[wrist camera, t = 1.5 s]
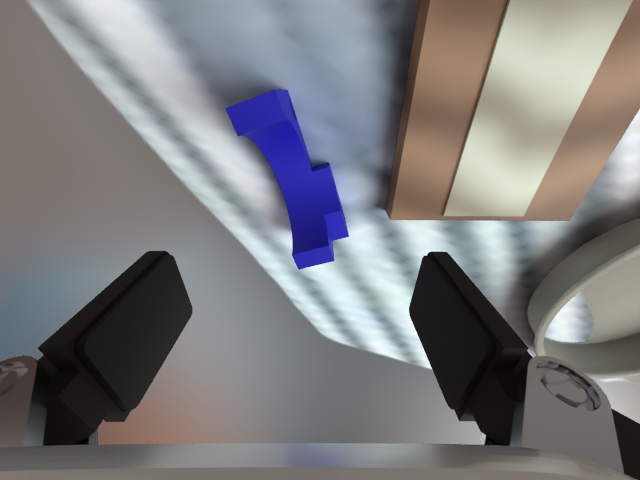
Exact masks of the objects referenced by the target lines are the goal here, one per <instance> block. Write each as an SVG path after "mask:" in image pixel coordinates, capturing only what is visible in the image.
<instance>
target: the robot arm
mask: <svg viewBox="0 0 640 480" xmlns="http://www.w3.org/2000/svg"><path fill="white" fill-rule="evenodd" d="M409 313H410V317H411V320H412V322H413V324H414V327H415V329H416V331H417V334H418V336H419V338H420V341H421V343H422V346H423V348H424V350H425V353H426V355H427V357H428V360H429V362H430V364H431V367H432V369H433V372H434V374H435V376H436V378H437V381H438V383H439V386H440V388H441V390H442V393H443V395H444V398H445V400H446V402H447V404H448V406H449V407H450V408H451V409H454V410H455V412H456V414H457V417H458V419H459V421H476V422H477V425H478V427H479V429H480V431H481V432H482V433H481V437H480V442H479V445H461V444H327V443H323V444H320V443H317V444H109V445H108V444H107V445H106V444H104V445H99V444H98V426H99V425H100V423H101V422H102V420H103V419H104V420H105V421H106V422H124V421H125V420H126V418H127V416H128V415H129V413H130V411H131V410H133V409H134V408H136V407H137V406H138V404H139V403H140V401H141V400H142V398H143V396H144V395H145V393H146V391H147V389H148V388H149V386H150V384H151V383H152V381H153V379H154V378H155V376H156V374H157V373H158V371H159V369H160V367H161V366H162V364H163V363H164V361H165V359H166V357H167V356H168V354H169V352H170V351H171V349H172V347H173V345H174V344H175V342H176V341H177V339H178V337H179V335H180V334H181V332H182V330H183V329H184V327H185V325H186V324H187V322H188V320H189V319H190V317H191V315H192V306H191V303H190V300H189V297H188V294H187V291H186V289H185V286H184V283H183V280H182V278H181V275H180V272H179V270H178V267H177V264H176V261H175V259H174V257H173V256H172V255H170V254H169V253H168V252H166V251H148V252H146V253H145V254H144V255H143V256H142V257H141V258H140V259H138V260H137V261H136V262H135V263H134V264H133V265H132V266H130V267H129V268H128V269H127V270H126V271H125V272H124V273H122V274H121V275H120V276H119V277H118V278H117V279H116V280H114V281H113V282H112V283H111V284H110V285H109V286H108V287H106V288H105V289H104V290H103V291H102V292H101V293H100V294H98V295H97V296H96V297H95V298H94V299H93V300H92V301H91V302H89V303H88V304H87V305H86V306H85V307H84V308H83V309H81V310H80V311H79V312H78V313H77V314H76V315H75V316H73V317H72V318H71V319H70V320H69V321H68V322H67V323H66V324H64V325H63V326H62V327H61V328H60V329H59V330H58V331H56V332H55V333H54V334H53V335H52V336H51V337H50V338H48V339H47V340H46V341H45V342H44V343H43V344H42V345H41V346H40V347H38V349H39V350H40V351H41V352H42V353H43V354H44V356H43V357H42V358H40V359H39V360H38V361H37V360H36V359H35V358H33V357H32V356H18V357H13V358H10V359H7V360H4V361H1V362H0V480H640V424H639V423H637V422H635V421H633V420H631V419H629V418H628V417H626V416H624V415H622V414H620V413H618V412H617V411H615V410H613V409H611V405H610V403H609V400H608V398H607V396H606V395H605V393H604V392H603V391H602V389H601V388H600V387H599V386H598V385H597V384H596V383H595V382H594V381H593V380H592V379H591V378H590V377H589V376H587V375H586V374H585V373H583V372H582V371H580V370H579V369H578V368H576V367H574V366H572V365H570V364H569V363H567V362H565V361H562V360H559V359H557V358H554V357H549V356H535V357H534V358H533V357H532V356H531V355H530V354H529V353H528V351H527V350H528V347H527V346H526V345H525V344H524V342H523V341H522V340H521V339H520V338H519V336H518V335H517V334H516V333H515V332H514V331H513V329H512V328H511V327H510V326H509V325H508V323H507V322H506V321H505V320H504V319H503V318H502V316H501V315H500V314H499V313H498V312H497V310H496V309H495V308H494V307H493V306H492V305H491V303H490V302H489V301H488V300H487V299H486V297H485V296H484V295H483V294H482V293H481V292H480V290H479V289H478V288H477V287H476V286H475V284H474V283H473V282H472V281H471V280H470V279H469V277H468V276H467V275H466V274H465V273H464V271H463V270H462V269H461V268H460V267H459V266H458V264H457V263H456V262H455V261H454V260H453V258H452V257H451V256H450V255H449V254H448V253H447V252H429V253H428V255H427V256H424V257H423V259H422V262H421V266H420V270H419V274H418V277H417V281H416V285H415V288H414V292H413V296H412V299H411V303H410V307H409Z"/></svg>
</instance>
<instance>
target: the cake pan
mask: <svg viewBox="0 0 640 480" xmlns="http://www.w3.org/2000/svg"><path fill="white" fill-rule="evenodd" d="M580 291H582V293H583V295H584V297H585V300H586V302H587V305H588V307H589V309H590V312H591V314H592V316H593V319H594V326H593V329H592V332H591V334H590V337H588V339H587V341H586V342H579V343H569V342H559V341H555V340H551V339H548V338H546V337H544V336H545V333H546V331H547V328H548V326H549V324H550V323H551V321H552V320H553V318H554V317H555V316H556V314H557V313H558V312H559V311H560V309H561V308H562V307H563V306H564V305H565V304H566V303H567V302H568V301H569V300H571V299H572V298H573V297H574V296H575V295H576V294H577V293H579V292H580ZM527 318H528V322H529V325H530V327H531V329H532V330H533V332H534V334H535V341H534V346H535V352H536V355H537V356H549V357H554V358H557V359H559V360H562V361H565V362H567V363H569V364H570V365H572V366H574V367H576V368H578V369H579V370H580V371H582V372H583V373H585V374H586V375H587V376H589V377H590V378H591V379H609V378H620V377H628V376H634V375H640V218H637V219H634V220H632V221H629V222H626V223H624V224H622V225H619V226H617V227H615V228H613V229H611V230H609V231H607V232H605V233H603V234H601V235H599V236H597V237H595V238H594V239H592V240H590V241H589V242H587V243H585V244H584V245H582V246H581V247H579V248H578V249H576V250H575V251H573V252H572V253H571V254H569V255H568V256H567V257H566V258H564V259H563V260H562V261H561V262H560V263H558V264H557V265H556V266H555V267H554V268H553V269H552V270H551V271H550V272H549V273H548V274H547V275H546V276H545V278H544V279H543V280H542V281H541V282H540V284H539V285H538V287H537V288H536V290H535V291H534V293H533V295H532V297H531V299H530V302H529V305H528V310H527Z"/></svg>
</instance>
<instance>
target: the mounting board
mask: <svg viewBox="0 0 640 480" xmlns="http://www.w3.org/2000/svg"><path fill="white" fill-rule="evenodd" d="M639 109H640V0H420V2H419V8H418V14H417V20H416V26H415V32H414V38H413V44H412V50H411V56H410V62H409V68H408V75H407V81H406V87H405V93H404V99H403V105H402V111H401V117H400V123H399V129H398V135H397V142H396V148H395V154H394V160H393V166H392V172H391V178H390V184H389V190H388V196H387V202H386V208H385V211H386V213H387V215H388V216H389V218H390V220H513V221H570V219H571V218H572V216H573V214H574V213H575V211H576V210H577V208H578V206H579V205H580V203H581V202H582V200H583V198H584V197H585V195H586V194H587V192H588V190H589V189H590V187H591V186H592V184H593V183H594V181H595V179H596V178H597V176H598V175H599V173H600V171H601V170H602V168H603V167H604V165H605V163H606V162H607V160H608V159H609V157H610V155H611V154H612V152H613V151H614V149H615V147H616V146H617V144H618V143H619V141H620V139H621V138H622V136H623V135H624V133H625V131H626V130H627V128H628V127H629V125H630V123H631V122H632V120H633V119H634V117H635V115H636V114H637V112H638V111H639Z"/></svg>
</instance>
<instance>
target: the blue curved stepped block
mask: <svg viewBox="0 0 640 480" xmlns="http://www.w3.org/2000/svg"><path fill="white" fill-rule="evenodd" d="M225 109H226V111H227V113H228V115H229V117H230V120H231V122H232V124H233V126H234V128H235V131H236V133H237V135H238V136H240V135H244V136H246V137H248V138H250V139H251V140H252V141H253V142H254V143H255V144H256V145H257V146H258V147H259V148H260V150H261V151H262V152H263V154H264V155H265V157H266V159H267V160H268V162H269V164H270V166H271V167H272V169H273V171H274V174H275V176H276V178H277V180H278V183H279V185H280V188H281V190H282V193H283V196H284V199H285V202H286V206H287V210H288V214H289V218H290V223H291V229H292V238H293V251H292V256H293V258H294V261H295V263H296V265H297V267H298V269H303V268H307V267H311V266H315V265H319V264H323V263H327V262H331V261H334V253H333V240H337V239H341V238H345V237H349V235H348V230H347V225H346V220H345V217H344V213H343V210H342V206H341V203H340V199H339V196H338V192H337V189H336V185H335V181H334V178H333V174H332V171H331V167H330V164H329V163H327V164H323V165H320V166H317V167H314V168H313V167H312V164H311V161H310V158H309V155H308V152H307V149H306V146H305V143H304V139H303V136H302V133H301V130H300V127H299V124H298V121H297V118H296V115H295V111H294V108H293V105H292V102H291V99H290V96H289V93H288V90H273V91H270V92H268V93H265V94H262V95H260V96H257V97H254V98H252V99H249V100H246V101H244V102H241V103H238V104H236V105H233V106H231V107H228V108H225Z"/></svg>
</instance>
